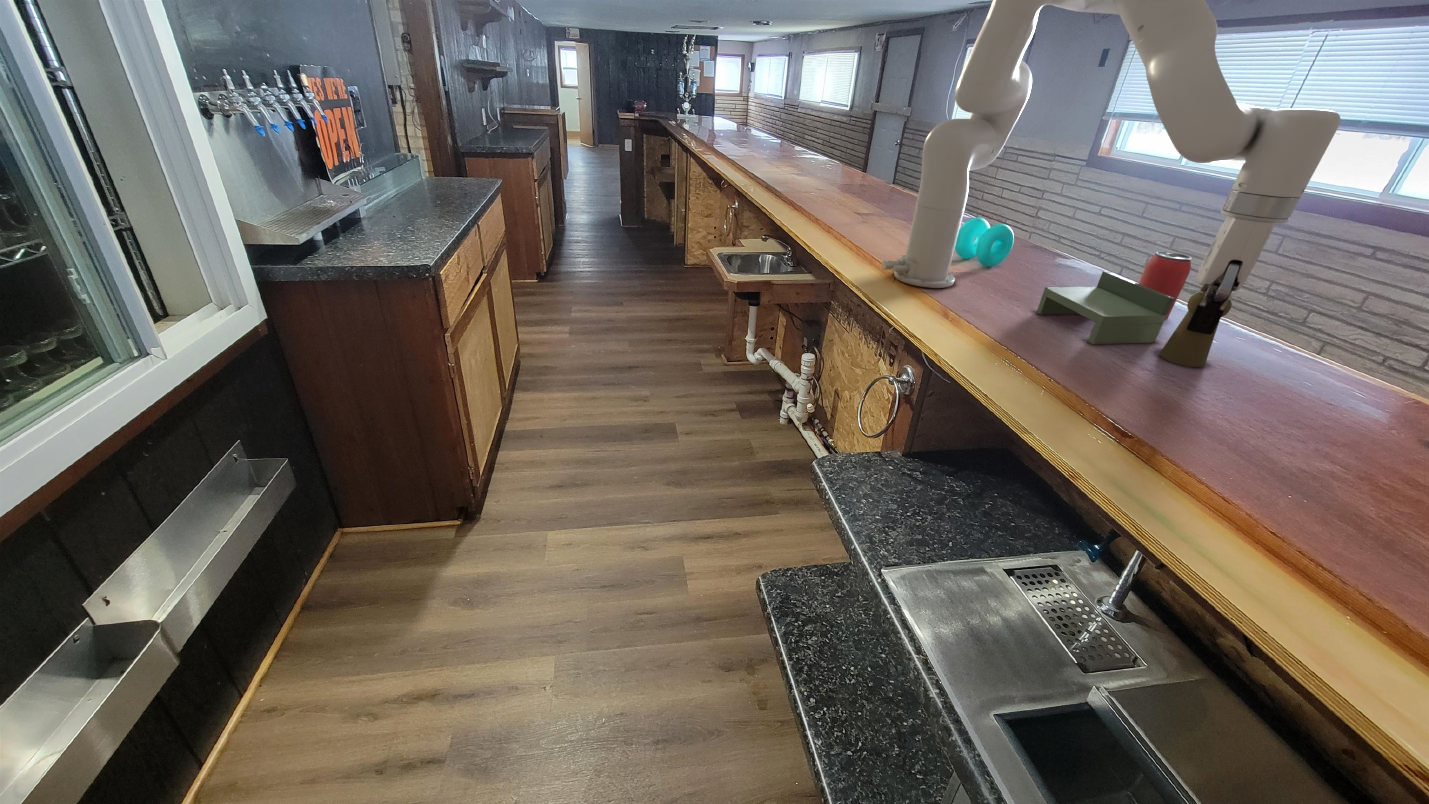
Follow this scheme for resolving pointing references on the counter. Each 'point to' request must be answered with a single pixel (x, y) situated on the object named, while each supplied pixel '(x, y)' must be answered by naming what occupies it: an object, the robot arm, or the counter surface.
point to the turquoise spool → (984, 241)
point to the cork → (1190, 338)
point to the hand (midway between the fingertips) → (1198, 325)
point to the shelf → (1112, 309)
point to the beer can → (1167, 274)
